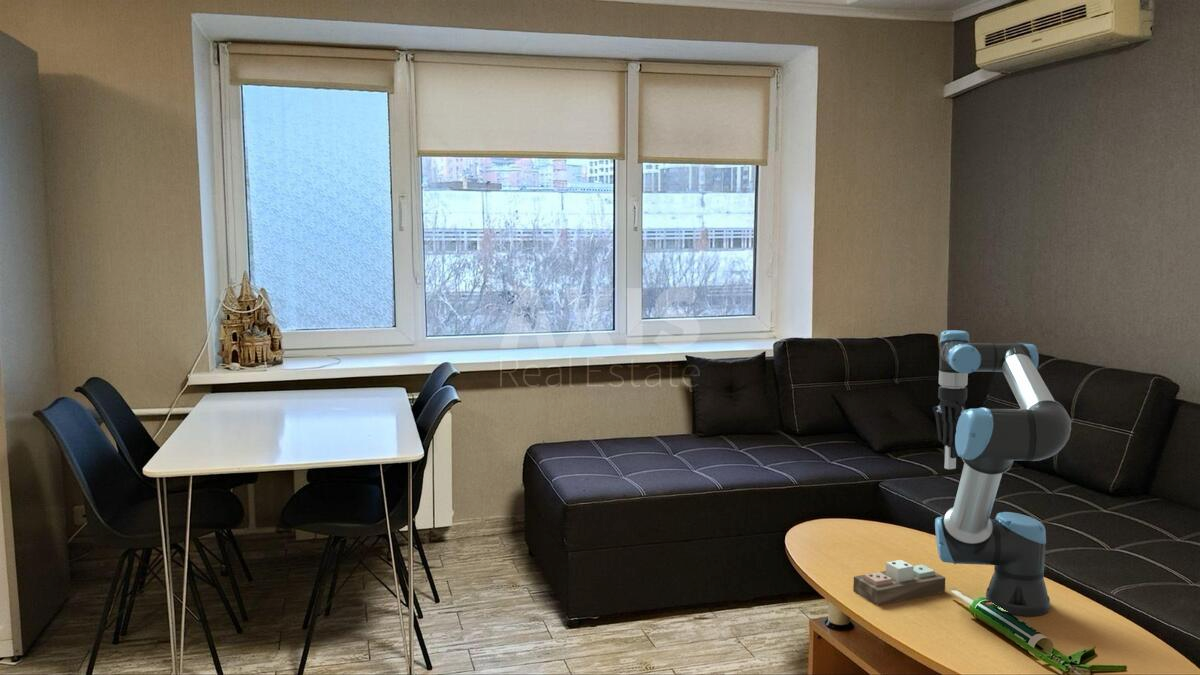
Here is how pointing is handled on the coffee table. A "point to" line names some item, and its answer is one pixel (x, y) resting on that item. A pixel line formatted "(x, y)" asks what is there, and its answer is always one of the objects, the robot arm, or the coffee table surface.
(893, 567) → the tile two
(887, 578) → the tile three
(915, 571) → the tile one
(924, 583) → the board
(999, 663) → the coffee table surface
